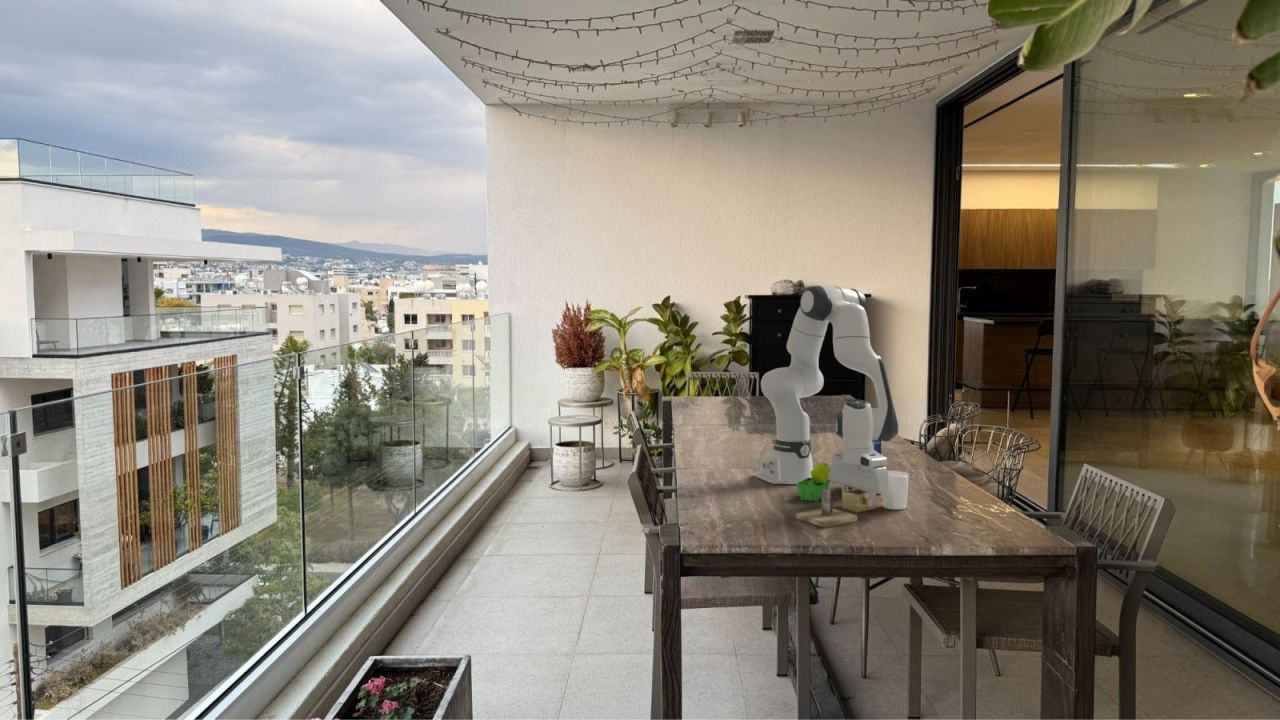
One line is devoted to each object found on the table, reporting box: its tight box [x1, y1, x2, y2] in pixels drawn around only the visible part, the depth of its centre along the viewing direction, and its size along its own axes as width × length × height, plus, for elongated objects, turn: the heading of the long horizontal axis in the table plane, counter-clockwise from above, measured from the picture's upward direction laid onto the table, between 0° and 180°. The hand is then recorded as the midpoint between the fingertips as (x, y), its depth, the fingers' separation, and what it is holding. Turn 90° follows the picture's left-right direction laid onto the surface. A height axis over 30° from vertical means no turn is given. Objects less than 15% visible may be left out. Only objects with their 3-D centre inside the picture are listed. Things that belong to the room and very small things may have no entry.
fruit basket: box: [795, 462, 831, 502], centre depth 260 cm, size 11×9×11 cm
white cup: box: [881, 470, 909, 511], centre depth 246 cm, size 8×8×10 cm
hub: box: [841, 488, 874, 513], centre depth 246 cm, size 6×6×5 cm
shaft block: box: [795, 488, 858, 528], centre depth 234 cm, size 12×12×8 cm
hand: (858, 502), depth 246 cm, fingers open, 7 cm apart
